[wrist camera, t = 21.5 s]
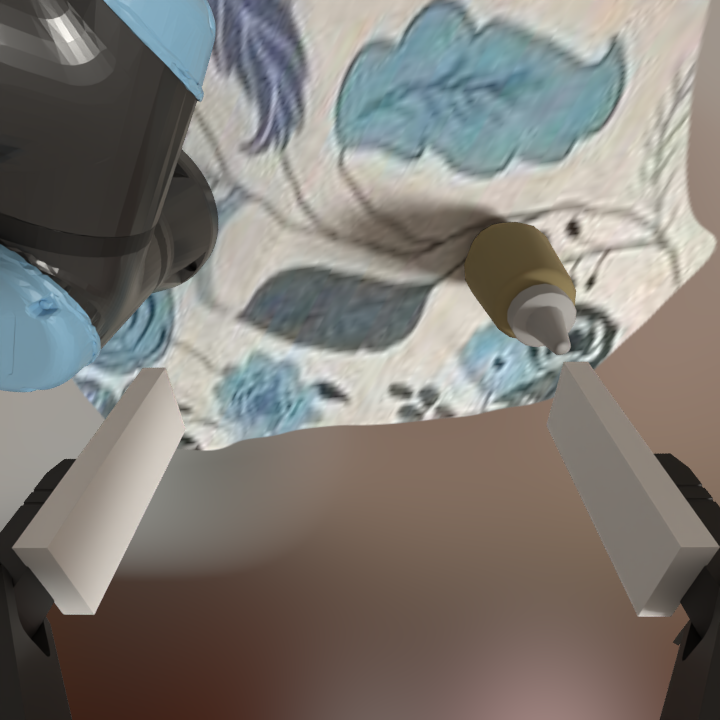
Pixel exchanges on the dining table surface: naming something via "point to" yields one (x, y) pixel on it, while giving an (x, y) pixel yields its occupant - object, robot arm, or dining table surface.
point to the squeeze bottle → (522, 285)
